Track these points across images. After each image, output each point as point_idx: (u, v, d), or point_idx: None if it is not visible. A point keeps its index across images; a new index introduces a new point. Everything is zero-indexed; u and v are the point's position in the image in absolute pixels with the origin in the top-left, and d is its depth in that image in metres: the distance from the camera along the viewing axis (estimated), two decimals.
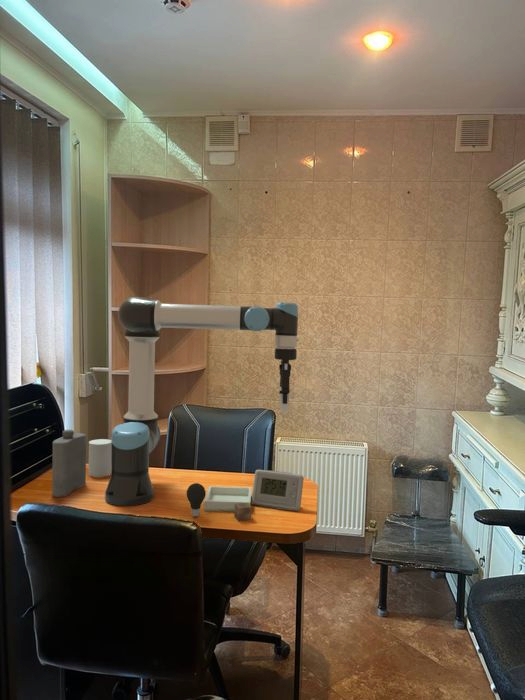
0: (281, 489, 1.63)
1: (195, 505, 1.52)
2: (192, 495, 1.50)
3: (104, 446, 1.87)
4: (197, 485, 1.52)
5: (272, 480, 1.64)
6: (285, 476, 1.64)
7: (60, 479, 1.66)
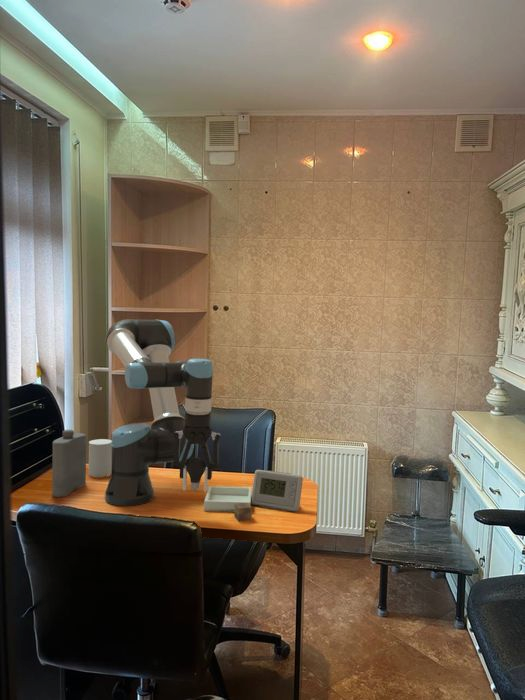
0: (280, 490, 1.62)
1: (194, 479, 1.52)
2: (192, 468, 1.50)
3: (104, 446, 1.87)
4: (197, 459, 1.52)
5: (272, 480, 1.64)
6: (284, 477, 1.63)
7: (60, 479, 1.66)
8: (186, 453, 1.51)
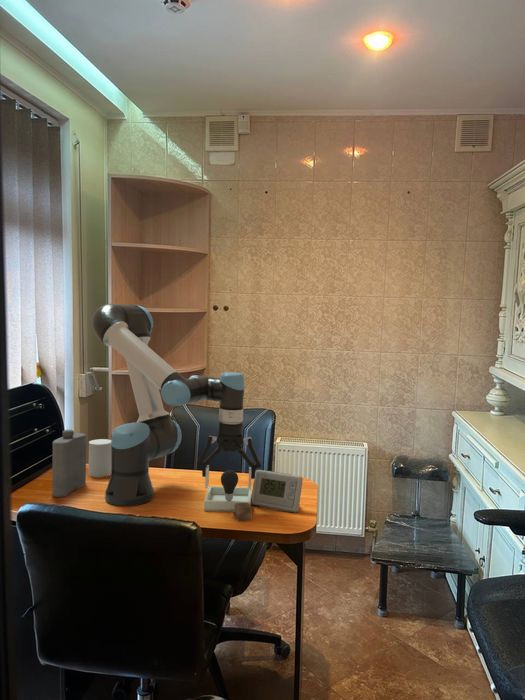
0: (280, 490, 1.62)
1: (228, 490, 1.64)
2: (227, 480, 1.63)
3: (104, 446, 1.87)
4: (231, 471, 1.64)
5: (272, 481, 1.64)
6: (284, 477, 1.63)
7: (60, 479, 1.66)
8: (213, 456, 1.63)
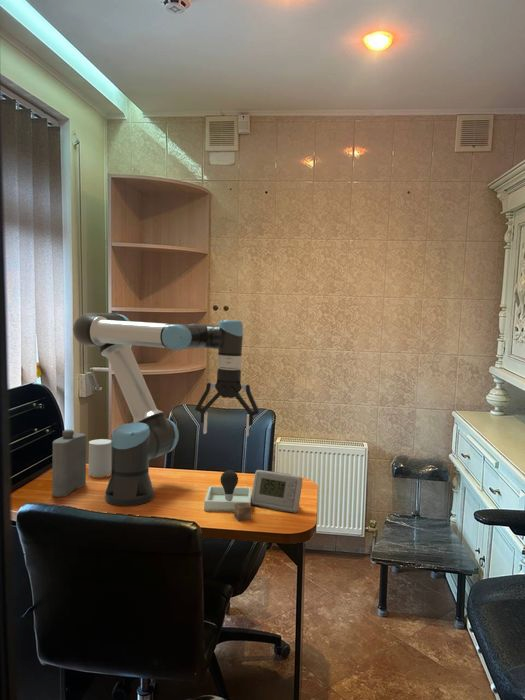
0: (280, 491, 1.62)
1: (228, 490, 1.64)
2: (226, 481, 1.62)
3: (104, 446, 1.87)
4: (230, 472, 1.64)
5: (272, 481, 1.63)
6: (284, 477, 1.62)
7: (60, 479, 1.66)
8: (211, 402, 1.65)
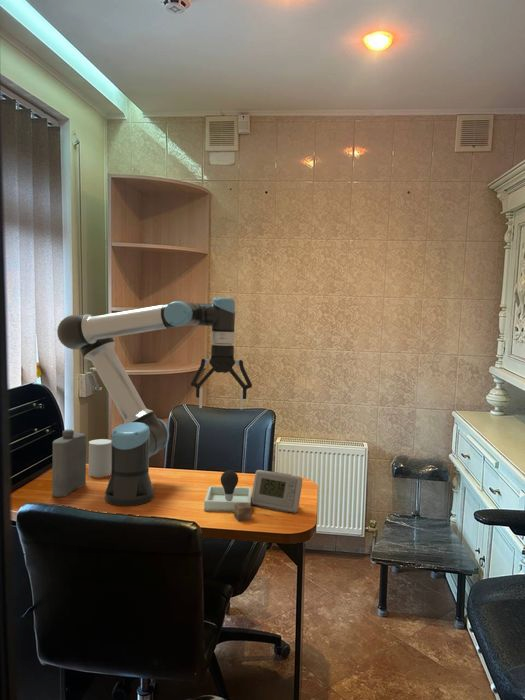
0: (280, 491, 1.61)
1: (228, 490, 1.64)
2: (226, 480, 1.62)
3: (104, 446, 1.87)
4: (231, 472, 1.64)
5: (272, 481, 1.63)
6: (284, 477, 1.62)
7: (60, 479, 1.66)
8: (206, 377, 1.72)
